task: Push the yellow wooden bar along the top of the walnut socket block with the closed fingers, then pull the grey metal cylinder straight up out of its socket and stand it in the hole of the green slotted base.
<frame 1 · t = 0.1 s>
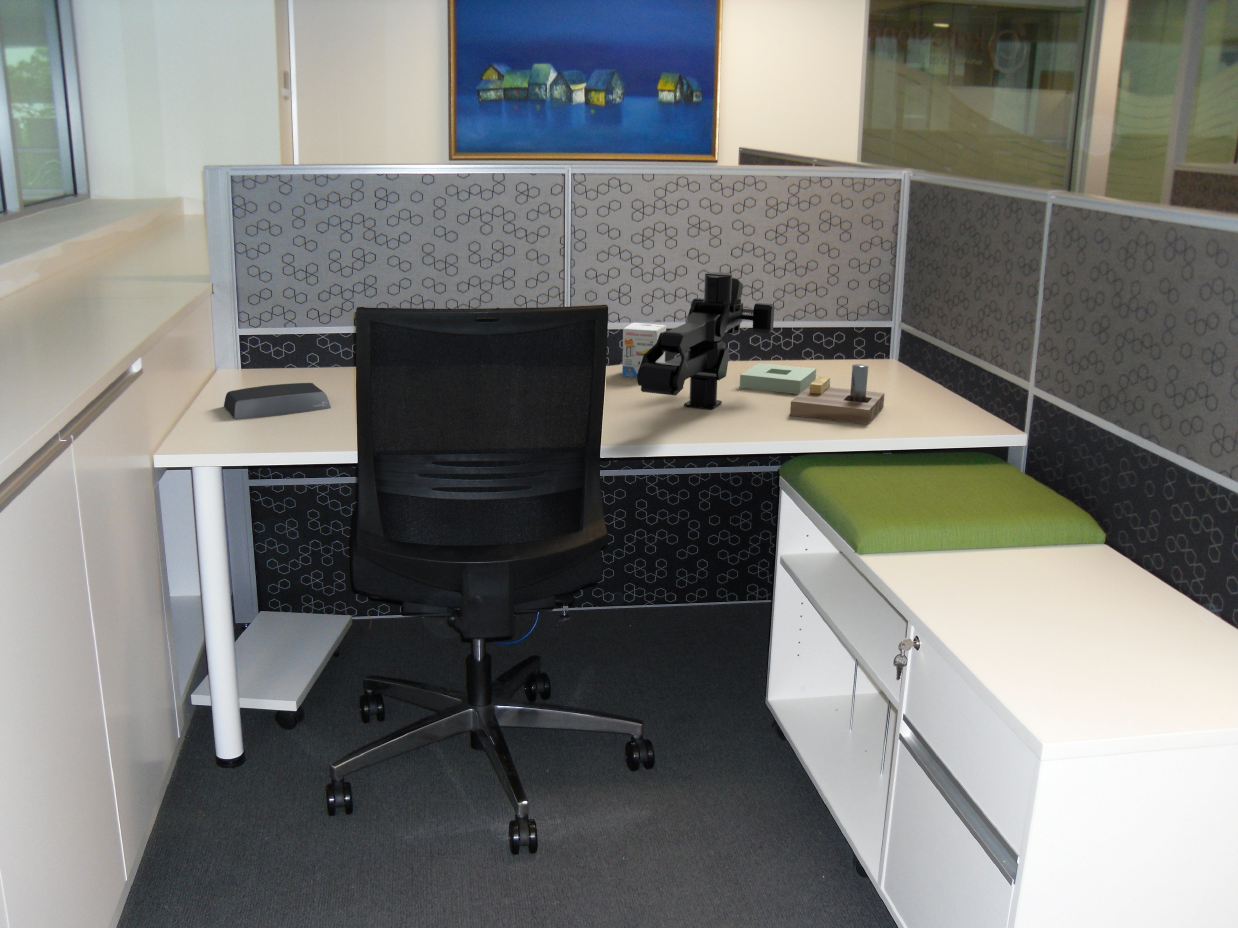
hand: (743, 310, 242), 17 cm above the table, tool horizontal, fingers open, 9 cm apart
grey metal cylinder: (856, 413, 220), resting in socket block
socket block: (837, 410, 222), on the table
green slotted base: (778, 384, 244), on the table
external hard drive: (277, 410, 220), on the table
yellow wooden bar: (820, 385, 226), point 4 cm above the table, slide at 0.0 cm
ink box: (643, 375, 253), on the table
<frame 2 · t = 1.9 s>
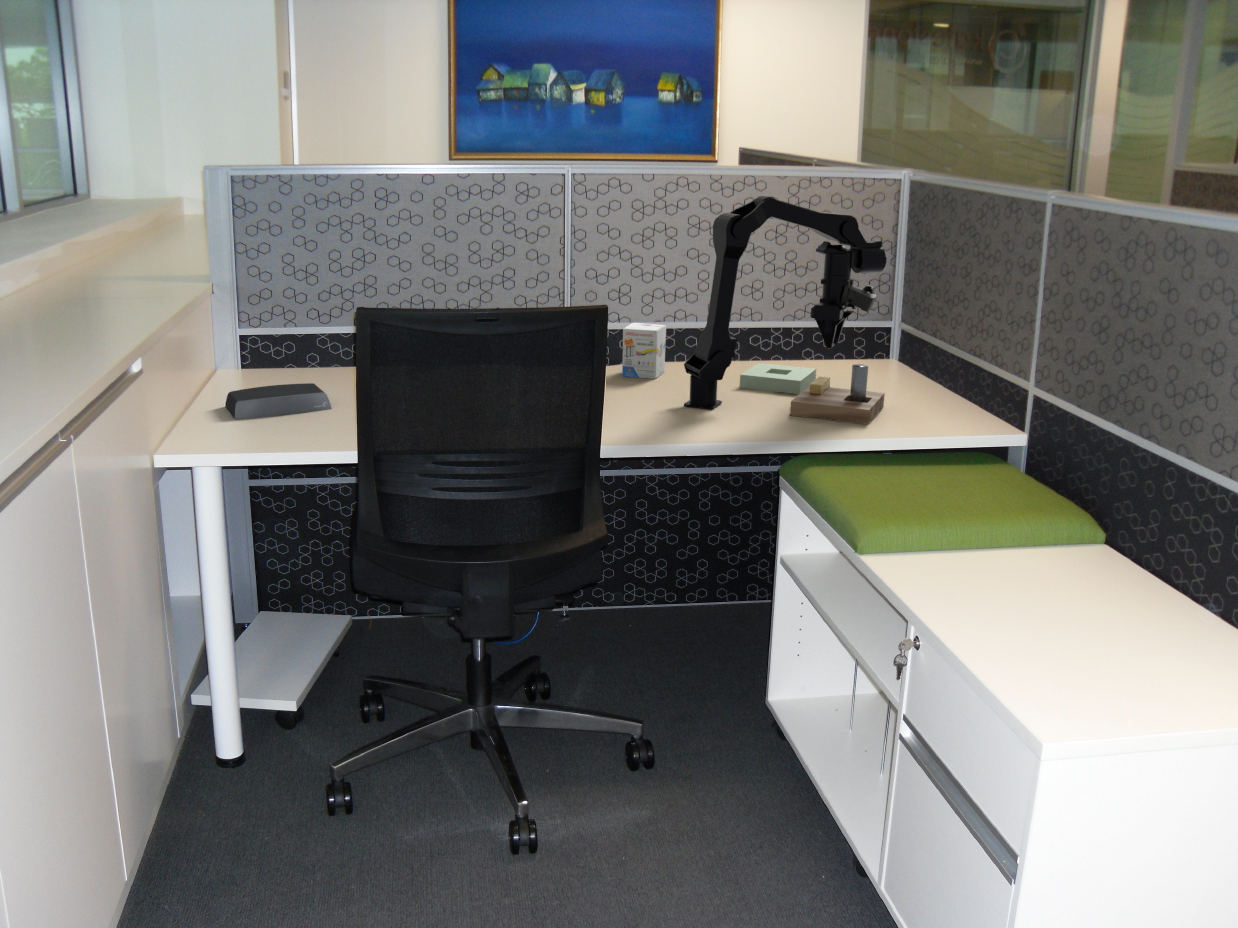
hand: (832, 346, 232), 11 cm above the table, tool pointing down, fingers open, 5 cm apart
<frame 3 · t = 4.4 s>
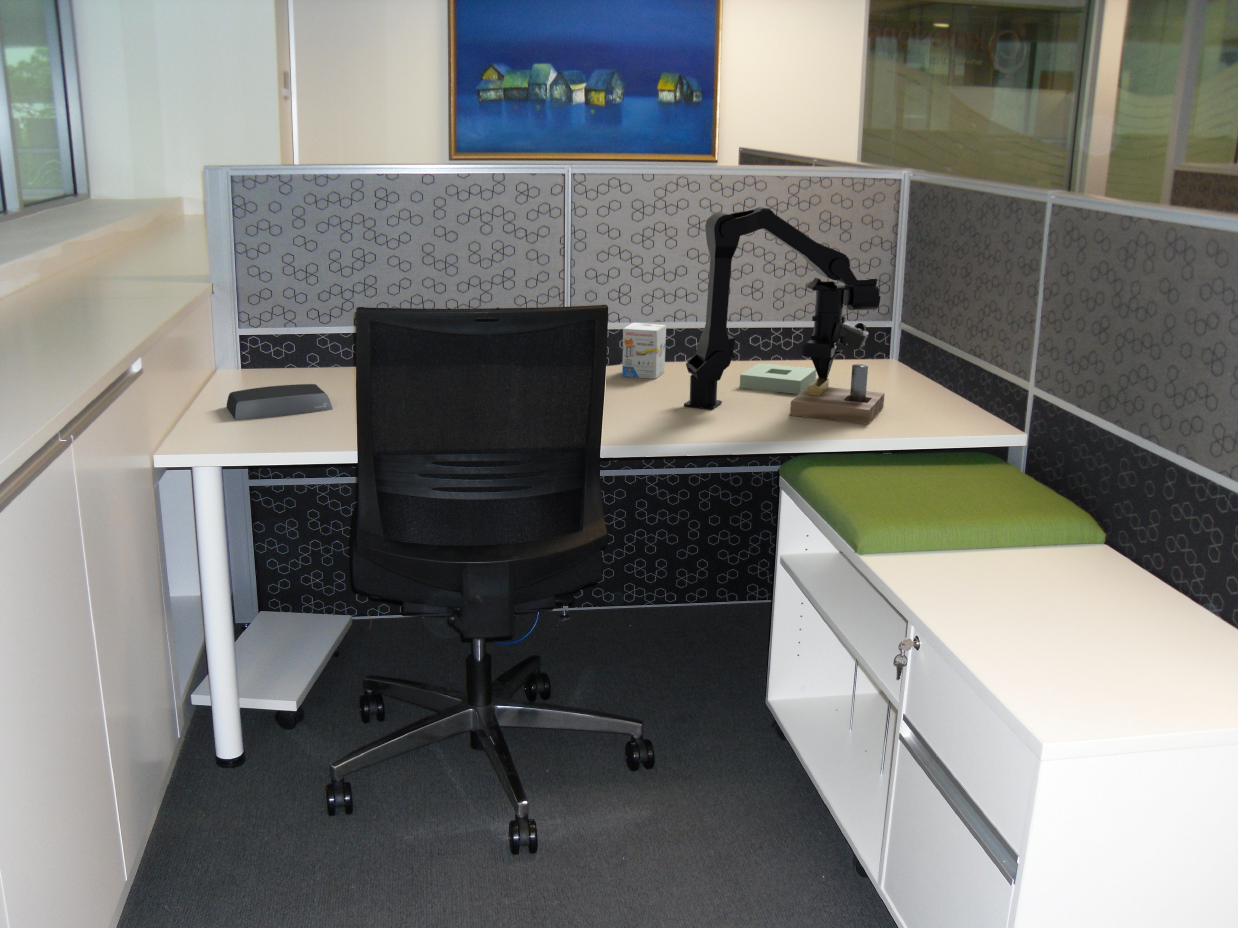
hand: (823, 382, 229), 4 cm above the table, tool pointing down, fingers closed
yellow wooden bar: (818, 386, 225), point 4 cm above the table, slide at 1.3 cm, touching gripper
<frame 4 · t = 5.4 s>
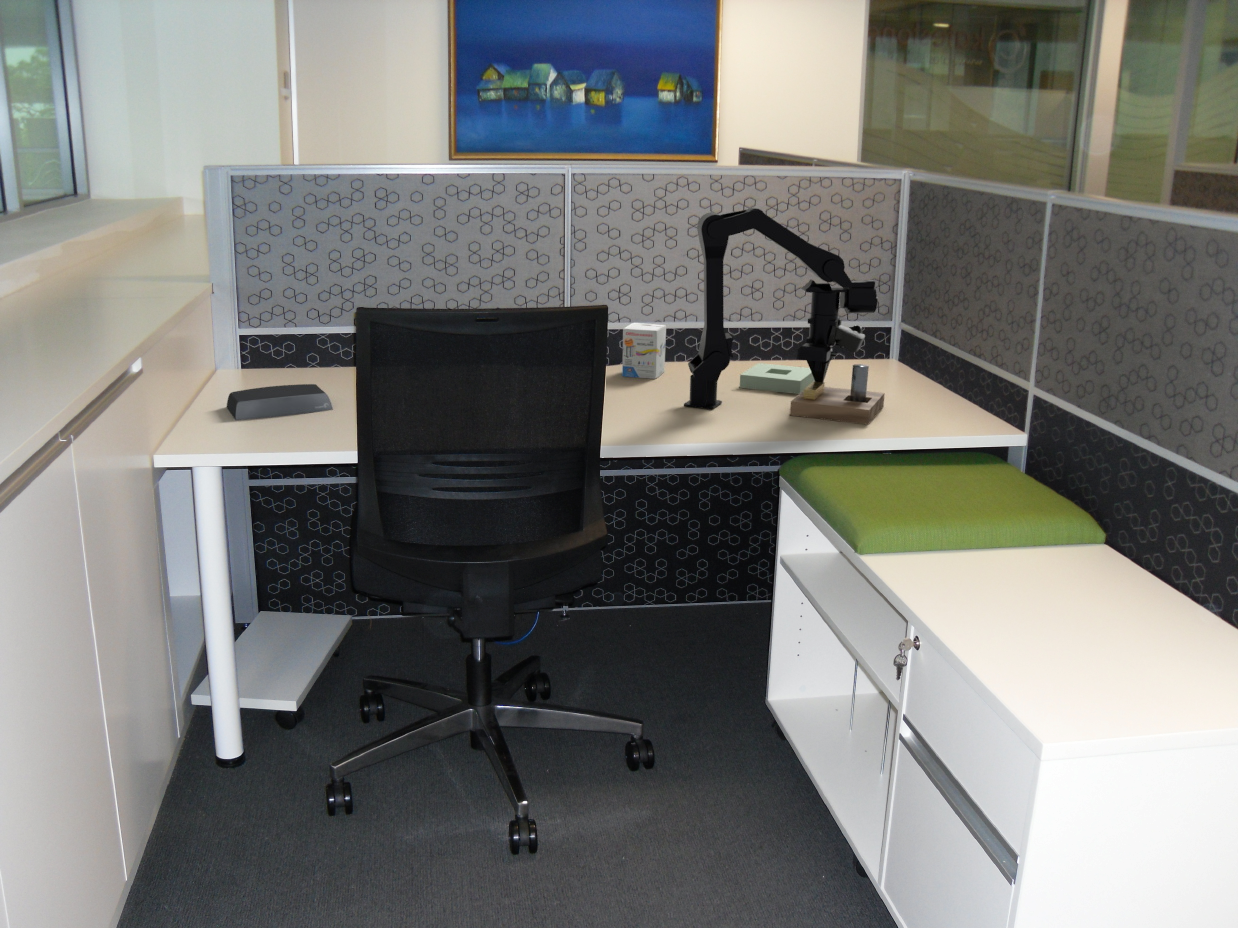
hand: (819, 386, 226), 4 cm above the table, tool pointing down, fingers closed
yellow wooden bar: (814, 390, 222), point 4 cm above the table, slide at 5.1 cm, touching gripper
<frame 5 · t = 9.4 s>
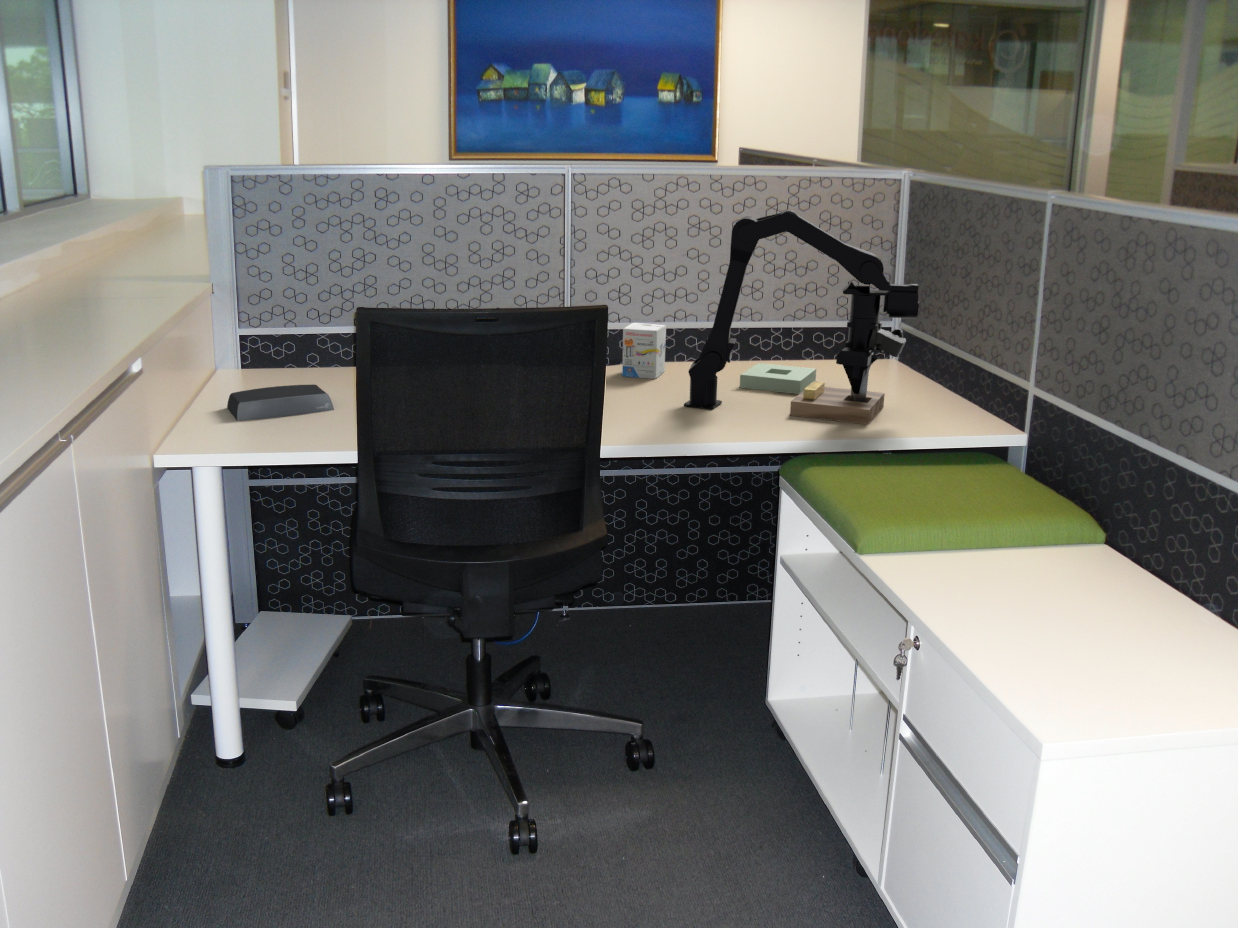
hand: (858, 391, 219), 5 cm above the table, tool pointing down, fingers closed on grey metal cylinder, 3 cm apart
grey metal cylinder: (856, 413, 220), resting in socket block, touching gripper
yellow wooden bar: (814, 390, 222), point 4 cm above the table, slide at 5.1 cm
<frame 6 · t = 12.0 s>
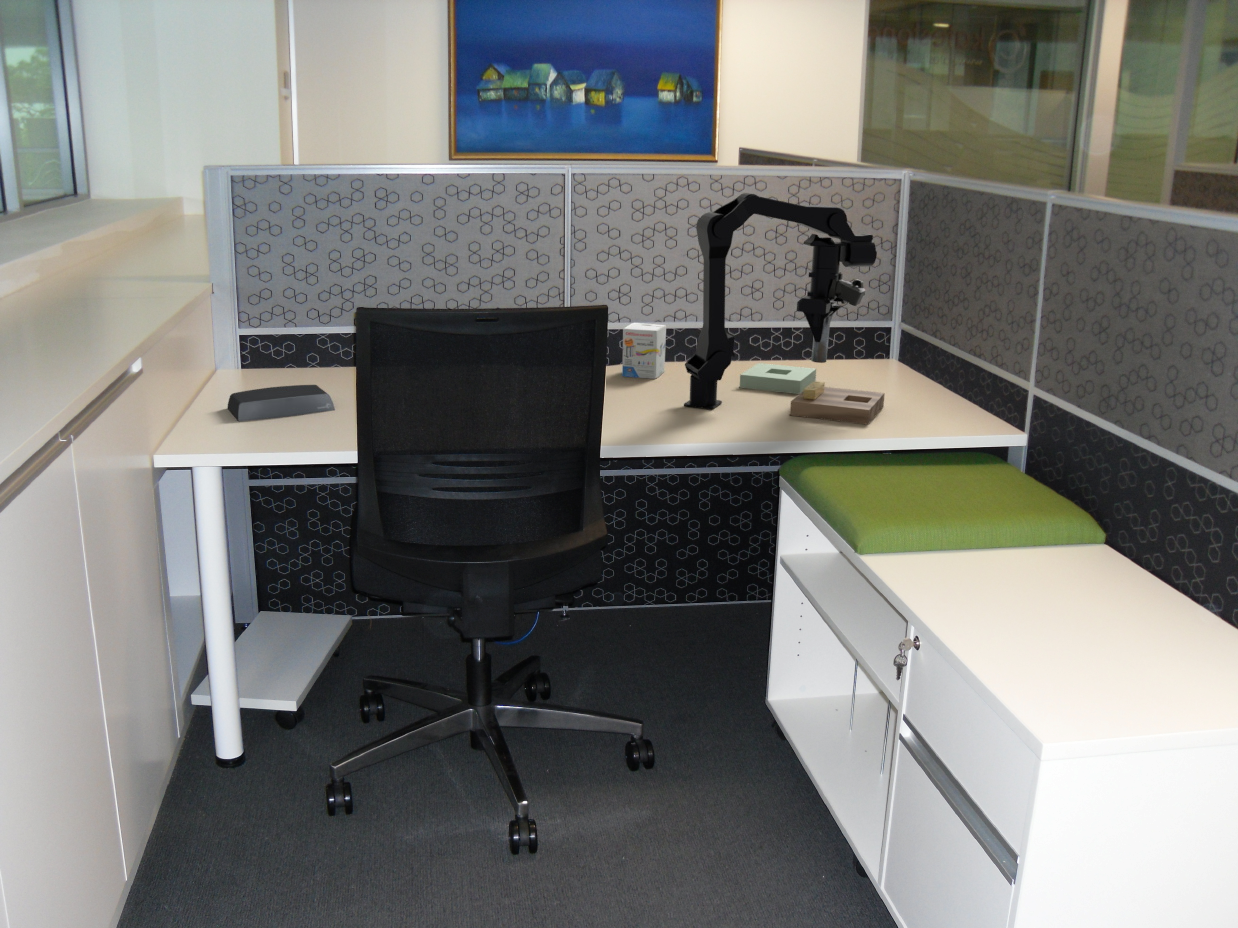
hand: (820, 340, 228), 13 cm above the table, tool pointing down, fingers closed on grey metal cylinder, 3 cm apart
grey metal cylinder: (818, 361, 229), point 8 cm above the table, touching gripper
when the fingers open (6 cm above the table, at t = 14.8 s): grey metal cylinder drops 1 cm, resting in green slotted base.
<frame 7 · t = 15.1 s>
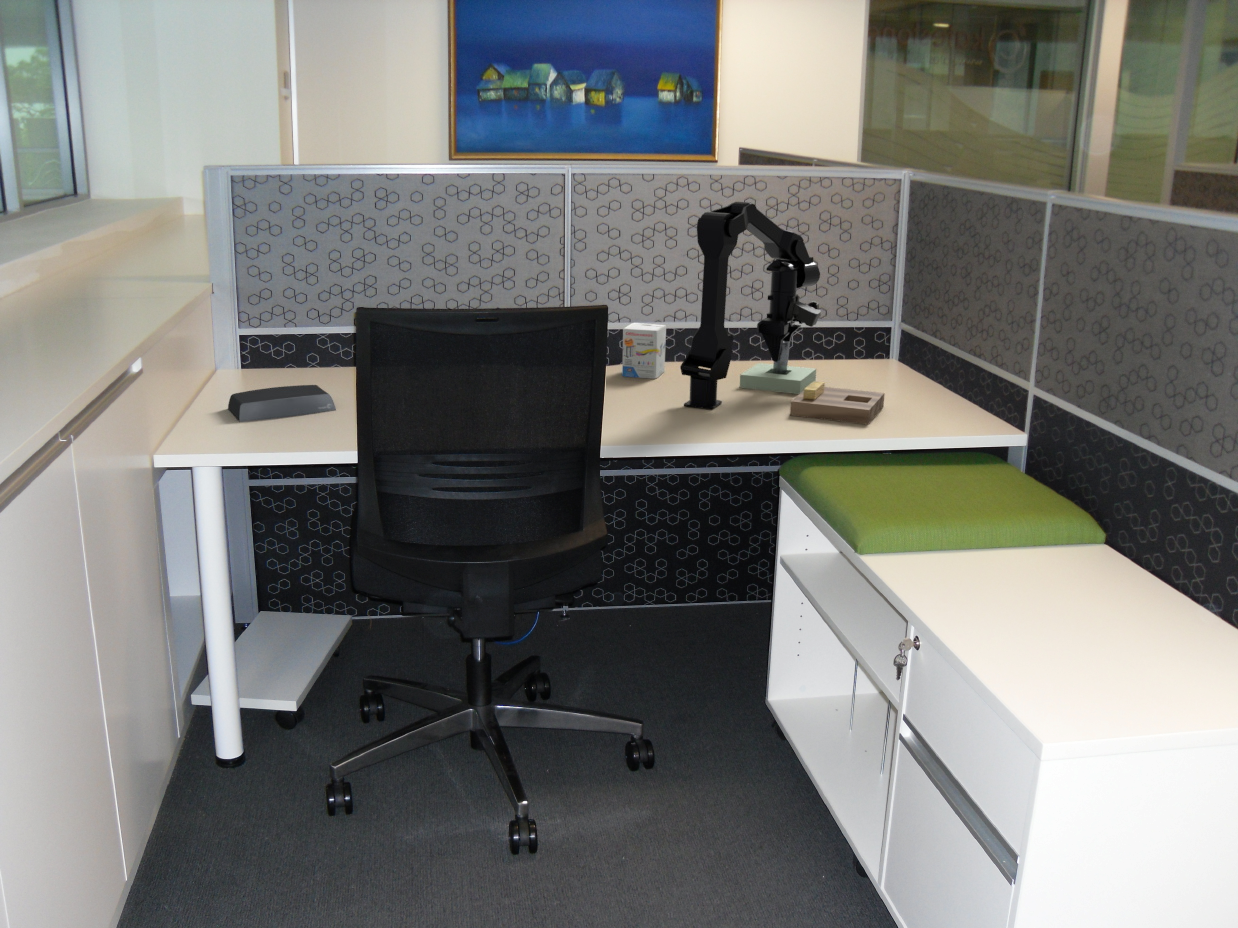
hand: (779, 358, 243), 6 cm above the table, tool pointing down, fingers open, 6 cm apart
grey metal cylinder: (778, 384, 244), resting in green slotted base
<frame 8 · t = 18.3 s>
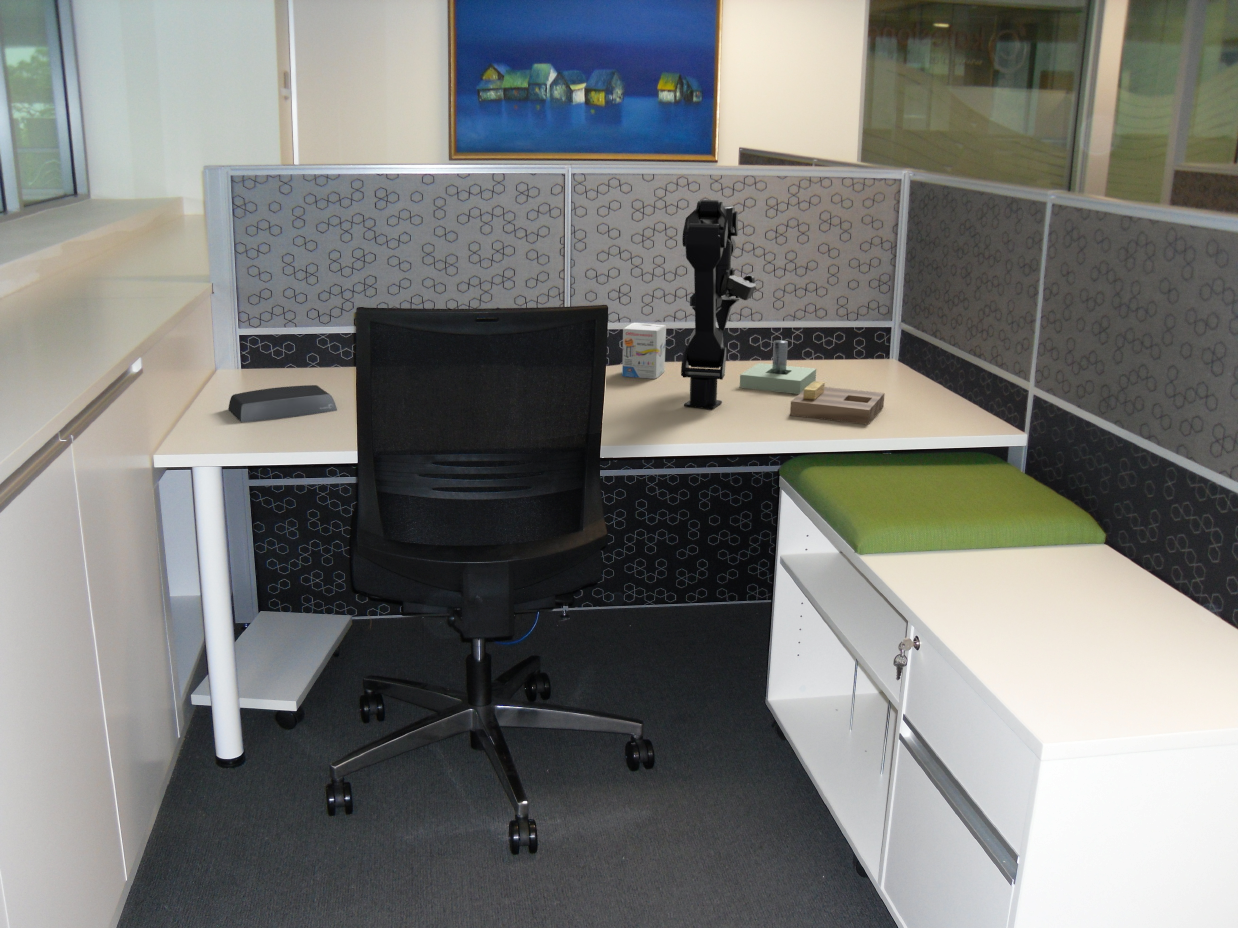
hand: (715, 333, 239), 12 cm above the table, tool pointing down, fingers open, 9 cm apart
at the end: yellow wooden bar slide at 5.1 cm; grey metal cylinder 0.1 cm off-centre on the green slotted base, point 0.0 cm above the green slotted base's base; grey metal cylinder tilted 1° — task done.
